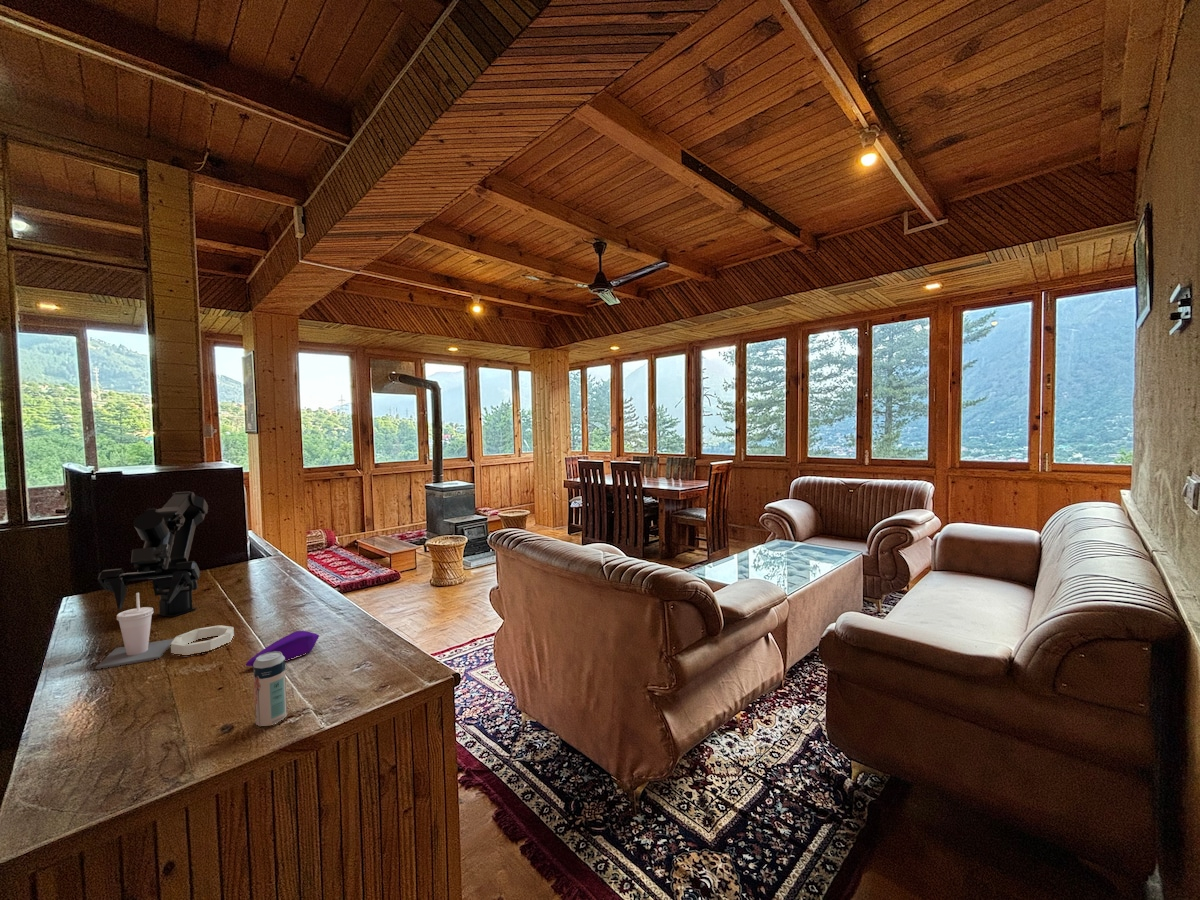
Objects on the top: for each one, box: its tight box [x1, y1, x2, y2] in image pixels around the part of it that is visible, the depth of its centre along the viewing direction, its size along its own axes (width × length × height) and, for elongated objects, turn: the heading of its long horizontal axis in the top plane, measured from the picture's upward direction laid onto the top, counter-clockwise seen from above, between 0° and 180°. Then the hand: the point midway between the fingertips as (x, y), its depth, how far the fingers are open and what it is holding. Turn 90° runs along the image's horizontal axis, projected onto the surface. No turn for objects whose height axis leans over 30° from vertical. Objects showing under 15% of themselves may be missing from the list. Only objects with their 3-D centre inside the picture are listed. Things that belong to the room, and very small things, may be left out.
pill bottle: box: [252, 651, 288, 727], centre depth 89 cm, size 5×5×12 cm
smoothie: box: [116, 592, 154, 655], centre depth 116 cm, size 6×6×14 cm
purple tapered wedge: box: [245, 630, 320, 667], centre depth 114 cm, size 5×5×15 cm
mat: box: [94, 638, 175, 670], centre depth 117 cm, size 11×11×1 cm
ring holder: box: [170, 624, 235, 655], centre depth 121 cm, size 12×12×2 cm
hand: (144, 605), depth 121 cm, fingers open, 9 cm apart
